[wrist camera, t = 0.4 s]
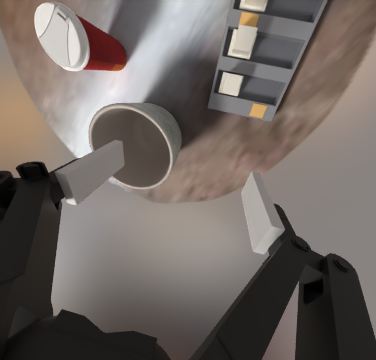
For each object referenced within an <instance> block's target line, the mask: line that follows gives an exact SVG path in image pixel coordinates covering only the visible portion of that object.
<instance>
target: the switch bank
mask: <svg viewBox="0 0 376 360" xmlns="http://www.w3.org/2000/svg"><path fill="white" fill-rule="evenodd" d="M327 1H328V0H268V1H267V4H266V8H265V11H264V13H263V14H259V13H254V12H248V11H242V10H239V7H240V3H241V0H231V5H230V9H229V14H228V18H227V23H226V27H225V32H224V36H223V41H222V45H221V50H220V54H219V59H218V63H217V68H216V72H215V77H214V81H213V85H212V90H211V94H210V99H209V103H208V108H209V109H214V110H219V111H223V112H228V113H233V114H237V115H242V116H247V117H251V118H256V119H260V120H265V121H270V122H271V121H272V119H273V116H274V114H275V112H276V110H277V108H278V106H279V104H280V101H281V99H282V97H283V95H284V93H285V91H286V89H287V86H288V84H289V82H290V80H291V78H292V76H293V74H294V71H295V69H296V67H297V65H298V63H299V61H300V59H301V56H302V54H303V52H304V50H305V48H306V46H307V44H308V41H309V39H310V37H311V35H312V33H313V31H314V28H315V26H316V24H317V22H318V20H319V18H320V16H321V13H322V11H323V9H324V7H325V5H326V3H327ZM239 25H245V26H250V27H256V28H258V29H257V32H256V33H257V36H256V39H255V43H254V46H253V49H252V52H251V55H250V58H249V60H248V61H247V60H242V59H237V58H231V57H227V55H228V51H229V47H230V43H231V39H232V35H233V31H234V29H237V30H238V27H239ZM223 72H225V73H230V74H235V75H240V76H244V77H243V81H242V84H241V87H240V90H239V93H238V96H234V95H229V94H224V93H219V88H220V84H221V80H222V75H223Z"/></svg>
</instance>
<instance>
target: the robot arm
mask: <svg viewBox="0 0 376 360" xmlns="http://www.w3.org/2000/svg"><path fill="white" fill-rule="evenodd" d="M124 165H125V164H124V153H123V142H122V141H118V140H114V141H112V142H110V143H108V144H106V145H104V146H103V147H101V148H99V149H97V150H95V151H93V152H91V153H89V154H87V155H86V156H84V157H82V158H78V159H75V160H73V161H71V162H69V163H67V164H65V165H64V166H61V167H59V168H57V169H55V170H54V171H51V172H50V173H48V171H47V168H46V166H45V164H44V163H42V162H27V163H24V164H21V165H19V166H17V167H16V170H17V171H18V173H19V175H20V177H21V178H14V177H13V175H12V174H11V172H9V171H0V360H171V359H170V358H169V356H168V355H167V353H166V352H165V351H164V350H163V348H162V347H161V346H159V345H158V344H157V343H156V342H157V338H154V337H151V336H148V335H145V334H141V333H138V332H135V331H127V332H115V333H104V332H102V331H101V330H100V329H99V328H98V327H97V326H95V325H94V324H93V323H92V322H91V321H90V320H89V319H87V318H86V317H85V316H82V315H79V314H76V313H73V312H70V311H66V310H63V309H62V310H61V311H60V313H59V314H58V315H57V316H53V308H52V304H51V291H52V283H53V275H54V267H55V258H56V250H57V242H58V233H59V225H60V217H61V208H62V202H61V199H63V198H64V197H65V198H66V201H67V203H69V204H73V205H78V204H79V203H81V201H83V200H84V199H85V198H86V197H88V196H89V195H90V194H91V193H92V192H93V191H94V190H96V189H97V188H98V187H99V186H100V185H102V184H103V183H104V182H105V181H106V180H108V179H109V178H110V177H111V176H112V175H114V174H115V173H116V172H117V171H118V170H119V169H121V168H122V167H123V166H124ZM241 195H242V200H243V206H244V211H245V215H246V220H247V226H248V231H249V235H250V241H251V245H252V250H253V252H256V253H260V254H265V252H266V251H267V250H268V251H269V255H270V256H269V257H268V258H267V259H266V260H265V261H264V262H263V264H262V266H261V267H260V268H259V270H258V271H257V272H256V274H255V275H254V276H253V278H252V279H251V280H250V282H249V283H248V284H247V285H246V287H245V288H244V290H243V291H242V292H241V293H240V294H239V296H238V297H237V298H236V300H235V301H234V303H233V304H232V305H231V306H230V308H229V309H228V310H227V312H226V313H225V314H224V316H223V317H222V318H221V319H220V321H219V322H218V323H217V325H216V326H215V327H214V329H213V330H212V331H211V333H210V334H209V335H208V336H207V338H206V339H205V340H204V342H203V343H202V344H201V346H200V347H199V348H198V349H197V350H196V351H195V353H194V354H193V355H192V356H191V358H190V359H189V360H262V358H263V356H264V354H265V351H266V349H267V347H268V345H269V343H270V341H271V339H272V336H273V334H274V332H275V330H276V328H277V326H278V324H279V321H280V319H281V317H282V315H283V313H284V311H285V309H286V306H287V304H288V302H289V300H290V298H291V296H292V294H293V291H294V289H295V287H296V285H297V283H298V281H299V295H298V314H297V333H296V351H295V360H376V339H375V335H374V332H373V328H372V325H371V322H370V318H369V314H368V310H367V307H366V303H365V300H364V296H363V293H362V289H361V286H360V282H359V279H358V275H357V273H356V271H355V269H354V268H353V267H352V265H351V264H350V263H349V262H347V261H346V260H345V259H343V258H342V257H340V256H338V255H336V254H331V253H330V254H328V255H327V256H325V257H324V256H322V255H320V254H318V253H316V252H314V251H312V250H311V248H310V246H309V245H308V244H307V242H305V241H304V240H303V239H302V238H300V237H298V236H296V234H295V232H294V230H293V228H292V226H291V224H290V223H289V221H288V219H287V217H286V215H285V213H284V211H283V209H282V208H281V207H280V206H279V205H277V204H273V202H272V200H271V197H270V195H269V193H268V191H267V189H266V187H265V184H264V182H263V180H262V178H261V176H260V173H257V172H252V171H251V173H250V175H249V177H248V180H247V182H246V184H245V186H244V188H243V190H242V192H241ZM155 346H156V347H155Z"/></svg>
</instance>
